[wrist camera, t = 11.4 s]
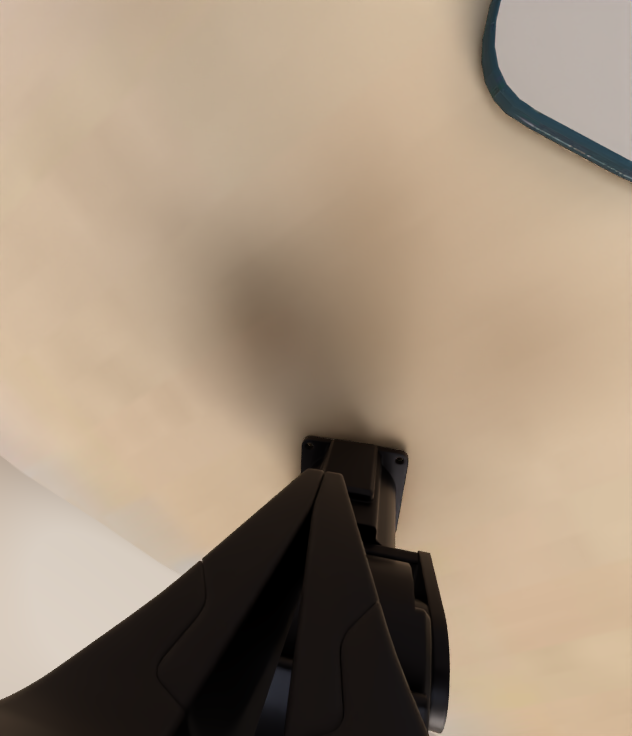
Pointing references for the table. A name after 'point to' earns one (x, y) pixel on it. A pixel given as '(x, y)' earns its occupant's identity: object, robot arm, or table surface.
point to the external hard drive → (565, 73)
